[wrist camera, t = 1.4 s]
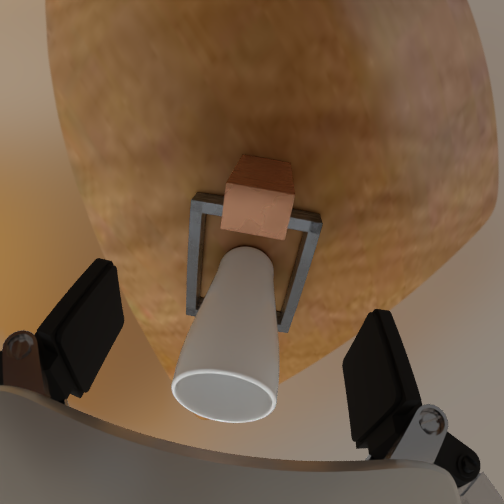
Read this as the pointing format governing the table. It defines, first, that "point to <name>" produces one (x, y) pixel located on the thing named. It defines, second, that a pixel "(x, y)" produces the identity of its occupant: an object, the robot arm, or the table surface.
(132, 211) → the table surface
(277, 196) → the frame
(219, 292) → the drinking glass
